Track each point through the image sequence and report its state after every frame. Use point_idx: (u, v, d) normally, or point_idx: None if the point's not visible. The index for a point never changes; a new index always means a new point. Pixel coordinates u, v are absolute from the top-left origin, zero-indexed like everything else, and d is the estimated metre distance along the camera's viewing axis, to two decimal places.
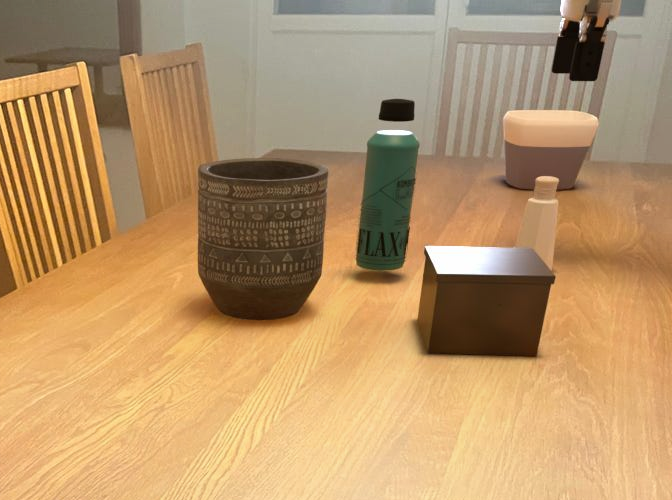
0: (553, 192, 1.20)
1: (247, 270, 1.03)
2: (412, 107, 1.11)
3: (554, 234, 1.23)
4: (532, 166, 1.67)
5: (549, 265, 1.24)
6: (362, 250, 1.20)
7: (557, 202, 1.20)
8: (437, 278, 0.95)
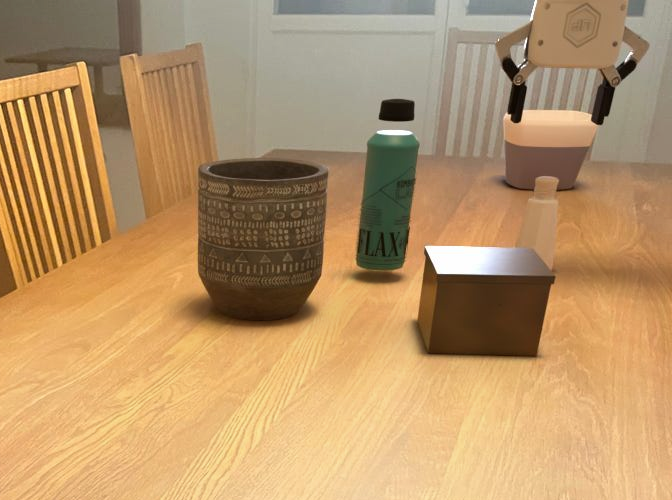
0: (553, 192, 1.20)
1: (247, 270, 1.03)
2: (412, 107, 1.11)
3: (554, 234, 1.23)
4: (532, 166, 1.67)
5: (549, 265, 1.24)
6: (362, 250, 1.20)
7: (557, 202, 1.20)
8: (437, 278, 0.95)
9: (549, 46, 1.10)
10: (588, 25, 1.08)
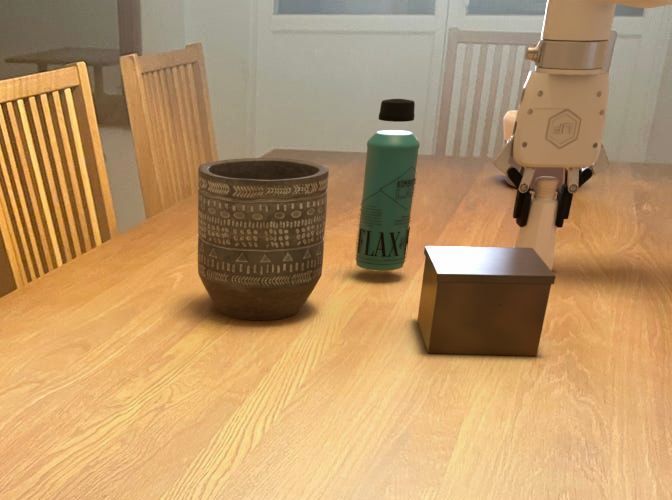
0: (553, 192, 1.20)
1: (247, 270, 1.03)
2: (412, 107, 1.11)
3: (554, 234, 1.23)
4: None
5: (549, 265, 1.24)
6: (362, 250, 1.20)
7: (557, 202, 1.20)
8: (437, 278, 0.95)
9: (532, 147, 1.15)
10: (569, 128, 1.14)
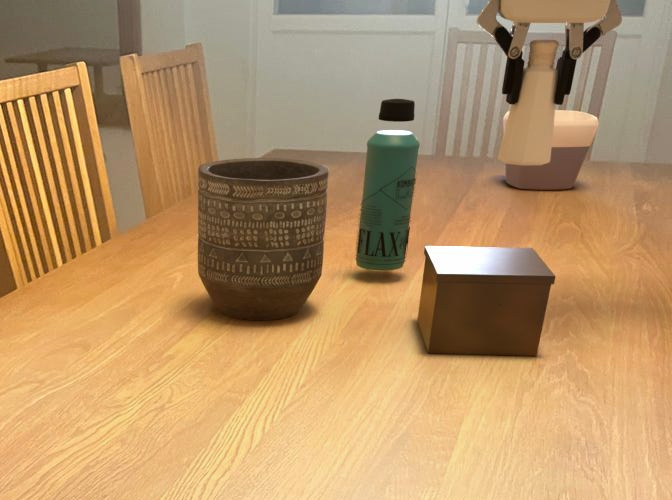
0: (551, 58, 0.96)
1: (247, 270, 1.03)
2: (412, 107, 1.11)
3: (553, 114, 0.99)
4: (532, 166, 1.67)
5: (546, 154, 1.01)
6: (362, 250, 1.20)
7: (556, 72, 0.97)
8: (437, 278, 0.95)
9: None
10: None
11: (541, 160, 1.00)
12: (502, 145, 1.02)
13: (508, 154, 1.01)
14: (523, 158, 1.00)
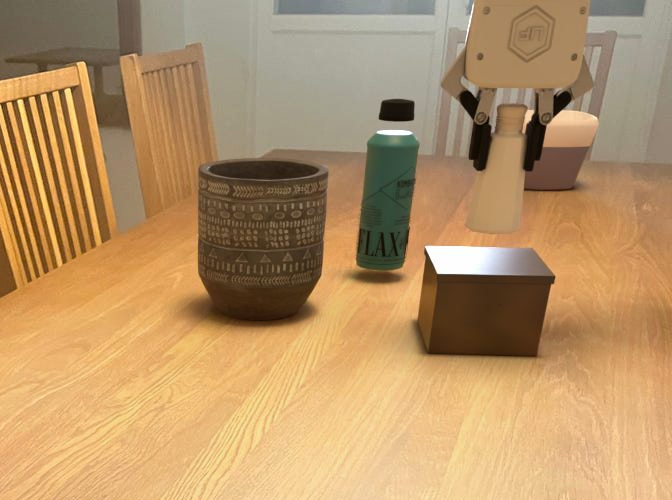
0: (520, 124, 0.90)
1: (247, 270, 1.03)
2: (412, 107, 1.11)
3: (522, 181, 0.93)
4: None
5: (516, 222, 0.95)
6: (362, 250, 1.20)
7: (525, 137, 0.91)
8: (437, 278, 0.95)
9: (491, 61, 0.86)
10: (539, 34, 0.85)
11: (511, 228, 0.95)
12: (469, 212, 0.96)
13: (476, 222, 0.95)
14: (492, 227, 0.94)
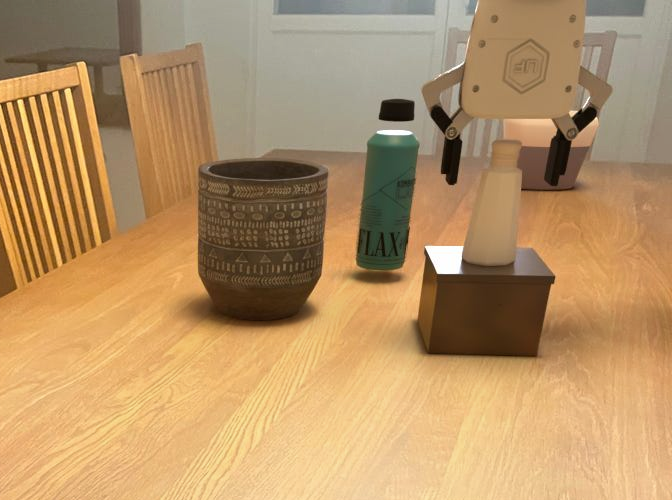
0: (515, 159, 0.92)
1: (247, 270, 1.03)
2: (412, 107, 1.11)
3: (517, 214, 0.95)
4: (532, 166, 1.67)
5: (511, 254, 0.97)
6: (362, 250, 1.20)
7: (520, 172, 0.93)
8: (437, 278, 0.95)
9: (486, 92, 0.88)
10: (534, 66, 0.86)
11: (506, 261, 0.96)
12: (465, 243, 0.98)
13: (472, 254, 0.97)
14: (487, 259, 0.96)
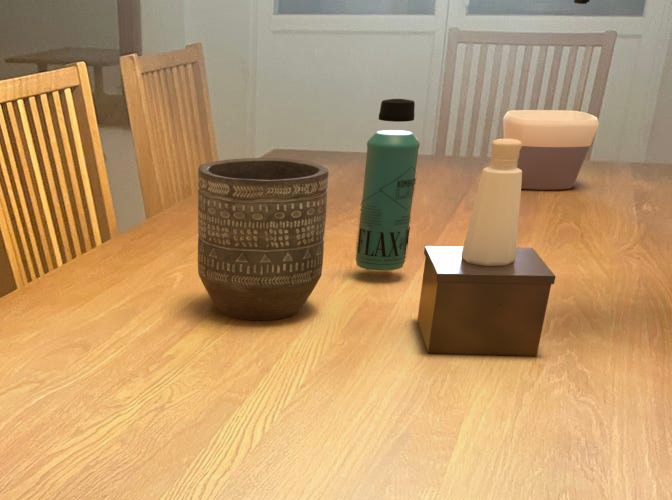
0: (514, 159, 0.92)
1: (247, 270, 1.03)
2: (412, 107, 1.11)
3: (517, 214, 0.95)
4: (532, 166, 1.67)
5: (511, 254, 0.97)
6: (362, 250, 1.20)
7: (520, 172, 0.93)
8: (437, 278, 0.95)
9: None
10: None
11: (506, 261, 0.96)
12: (465, 244, 0.98)
13: (472, 254, 0.97)
14: (487, 259, 0.96)
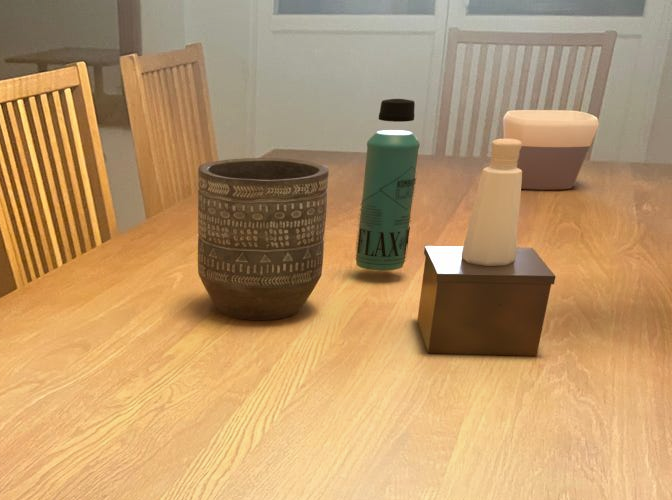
0: (514, 159, 0.92)
1: (247, 270, 1.03)
2: (412, 107, 1.11)
3: (517, 214, 0.95)
4: (532, 166, 1.67)
5: (511, 254, 0.97)
6: (362, 250, 1.20)
7: (520, 172, 0.93)
8: (437, 278, 0.95)
9: None
10: None
11: (506, 261, 0.96)
12: (465, 244, 0.98)
13: (472, 254, 0.97)
14: (487, 259, 0.96)
